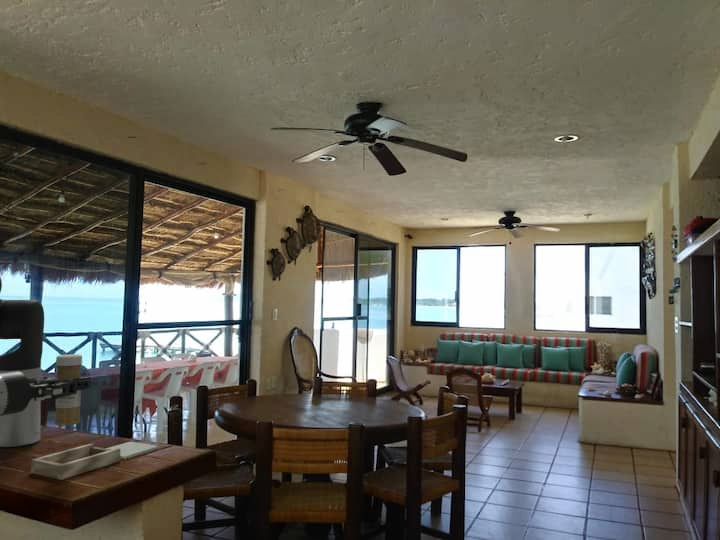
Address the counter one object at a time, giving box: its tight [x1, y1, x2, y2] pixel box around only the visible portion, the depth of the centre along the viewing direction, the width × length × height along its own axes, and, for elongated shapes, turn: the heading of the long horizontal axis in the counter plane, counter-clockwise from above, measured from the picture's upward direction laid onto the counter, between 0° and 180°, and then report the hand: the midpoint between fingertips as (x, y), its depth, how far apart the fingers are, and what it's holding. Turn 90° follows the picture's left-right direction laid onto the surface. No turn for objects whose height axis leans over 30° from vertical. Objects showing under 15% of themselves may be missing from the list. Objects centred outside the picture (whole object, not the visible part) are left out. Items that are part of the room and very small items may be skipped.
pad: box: [105, 441, 159, 460], centre depth 124 cm, size 9×9×1 cm
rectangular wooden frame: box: [30, 443, 121, 481], centre depth 114 cm, size 13×9×2 cm
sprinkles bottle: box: [54, 353, 83, 426], centre depth 113 cm, size 5×5×13 cm
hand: (80, 381), depth 115 cm, fingers closed on sprinkles bottle, 4 cm apart
